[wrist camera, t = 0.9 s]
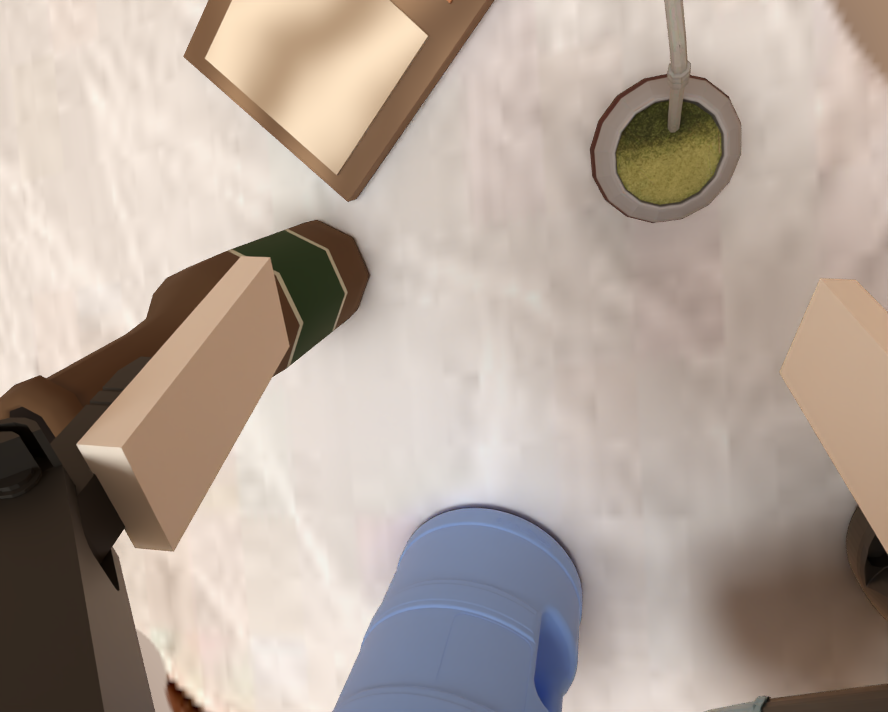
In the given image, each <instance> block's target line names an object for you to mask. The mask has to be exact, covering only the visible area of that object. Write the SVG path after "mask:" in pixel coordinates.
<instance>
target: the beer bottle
mask: <svg viewBox="0 0 888 712" xmlns="http://www.w3.org/2000/svg"><path fill="white" fill-rule="evenodd" d="M241 256H249V257H270V259H271V263H272V268H273V272H274V277H275V281H276V286H277V291H278V295H279V300H280V304H281V309H282V314H283V318H284V323H285V327H286V332H287V336H288V341H289V348H288V350H287V352H286V353H285V355H284V357H283V359H282V361H281V362H280V364H279V366H278V368H277V369H276V371H275V373H274V375H273V376H275V375H277V374H278V373H280V372H281V371H283V370H285V369H286V368H288V367H289V366H290V365H291V364H293V363H294V362H295V361H296V360H298V359H299V358H300V357H301V356H303V355H304V354H305V353H306V352H308V351H309V350H310V349H311V348H312V347H314V346H315V345H316V344H317V343H319V342H320V341H321V340H322V339H324V338H325V337H326V336H327V335H329V334H330V333H331V332H332V331H334V330H335V329H336V328H337V327H339V326H340V325H341V324H342V323H344V322H345V321H346V320H347V319H349V318H350V317H351V316H352V315H353V314H354V313H355V312H356V311H357V309H358V306H359V303H360V300H361V297H362V295H363V292H364V289H365V286H366V284H367V281H368V278H369V274H368V271H367V269H366V267H365V265H364V262H363V260H362V258H361V255H360V253H359V251H358V248H357V246H356V244H355V241H354V239H353V238H352V237H350V236H348V235H346V234H344V233H342V232H340V231H338V230H336V229H334V228H332V227H330V226H328V225H326V224H324V223H322V222H320V221H318V220H315V221H310V222H306V223H303V224H300V225H297V226H294V227H292V228H289V229H286V230H283V231H281V232H278V233H275V234H272V235H270V236H267V237H264V238H261V239H258V240H256V241H253V242H250V243H247V244H245V245H242V246H239V247H236V248H234V249H231V250H228V251H226V252H223V253H221V254H219V255H216V256H214V257H212V258H209V259H207V260H204V261H202V262H200V263H197V264H195V265H193V266H190V267H188V268H186V269H184V270H182V271H180V272H178V273H176V274H174V275H172V276H170V277H168V278H166V279H165V281H164V282H163V283H162V284H161V285H160V287H159V288H158V289H157V290H156V291H155V293H154V294H153V297H152V300H151V304H150V307H149V311H148V314H147V317H146V319H145V320H144V321H143V322H141V323H140V324H139V325H137V326H136V327H135V328H134V329H132V330H131V331H130V332H128V333H127V334H126V335H124V336H122V337H120V338H118V339H117V340H115V341H113V342H111V343H109V344H107V345H106V346H104V347H102V348H100V349H98V350H97V351H95V352H93V353H91V354H89V355H88V356H86V357H84V358H82V359H80V360H79V361H77V362H75V363H73V364H71V365H70V366H68V367H66V368H64V369H62V370H60V371H59V372H57V373H55V374H53V375H51V376H50V377H48V378H44V377H42V376H40V375H39V376H37V377H34V378H32V379H29V380H26V381H24V382H21V383H18V384H16V385H14V386H13V387H12V388H11V389H10V390H9V391H7V392H6V393H5V394H4V395H3V396H2V397H1V398H0V420H2V419H6V418H24V417H25V418H28V419H31V420H34V421H36V422H37V424H38V425H39V427H40V428H41V430H42V432H43V433H44V435H45V437H46V438H47V440H48V442H49V443H51V442H52V441H53V440H54V439H55V438H56V437H57V436H58V435H59V434H60V433H61V431H62V430H63V429H64V428H65V427H66V426H67V425H68V424H69V423H70V422H71V421H72V420H73V419H74V417H75V416H76V415H77V414H78V413H79V412H80V411H81V410H82V409H83V408H84V407H85V406H86V405H89V404H90V400H91V399H92V398H93V397H94V396H95V395H96V394H97V393H98V392H99V391H102V390H103V388H102V387H103V386H104V385H105V384H106V383H107V382H108V381H109V380H110V379H111V378H112V377H113V375H114V374H115V373H116V372H117V371H118V370H120V369H121V368H123V367H125V366H126V365H128V364H129V363H131V362H133V361H134V360H136V359H137V358H139V357H153V356H154V355H155V354H156V353H157V352H158V350H159V349H160V348H161V347H162V346H163V345H164V344H165V342H166V341H167V340H168V339H169V338H170V337H171V336H172V334H173V333H174V332H175V331H176V330H177V329H178V328H179V326H180V325H181V324H182V323H183V322H184V321H185V320H186V318H187V317H188V316H189V315H190V314H191V313H192V312H193V310H194V309H195V308H196V307H197V306H198V305H199V304H200V303H201V301H202V300H203V299H204V298H205V297H206V296H207V295H208V293H209V292H210V291H211V290H212V289H213V288H214V287H215V285H216V284H217V283H218V282H219V281H220V280H221V279H222V277H223V276H224V275H225V274H226V273H227V272H228V271H229V269H230V268H231V267H232V266H233V265H234V264H235V263H236V261H237V260H238V259H239V258H240V257H241ZM273 376H272V377H273Z"/></svg>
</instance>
